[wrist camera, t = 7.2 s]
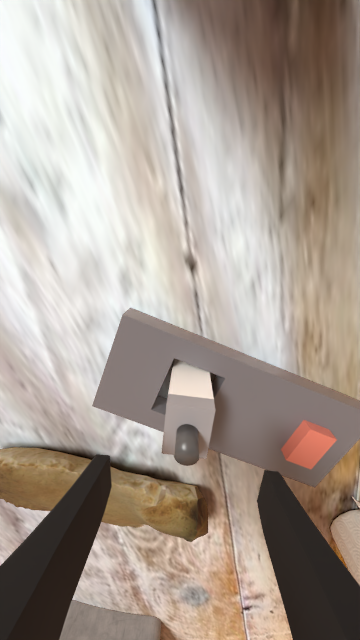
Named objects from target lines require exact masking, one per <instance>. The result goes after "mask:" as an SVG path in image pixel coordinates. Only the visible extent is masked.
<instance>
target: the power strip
mask: <svg viewBox="0 0 360 640" xmlns="http://www.w3.org/2000/svg"><path fill="white" fill-rule="evenodd" d="M174 358H175V359H178V360H180V361H183V362H185V363H188V364H190V365H193V366H195V367H198V368H200V369H203V370H205V371H208V372H211V373H213V374H216V377H215V379H214V381H213V383H212V391H213V397H214V404H215V416H214V421H213V426H212V432H211V437H210V442H209V449H211V450H214V451H217V452H219V453H222V454H225V455H228V456H230V457H233V458H236V459H239V460H241V461H244V462H247V463H250V464H252V465H255V466H258V467H260V468H263V469H266V470H269V471H278V472H279V473H280V474H281V475H282V476H285V477H288V478H290V479H293V480H296V481H299V482H301V483H304V484H307V485H310V486H312V487H316V486H317V485H318V484H319V482H320V481H321V480H322V479H323V478H324V477H325V476H326V475H327V474H328V473H329V472H330V470H331V469H332V468H333V467H334V466H335V465H336V464H337V463H338V462H339V461H340V460H341V459H342V457H343V456H344V455H345V454H346V453H347V452H348V451H349V450H350V449H351V448H352V447H353V445H354V444H355V443H356V442H357V441H358V440H359V439H360V401H359V400H357V399H354V398H352V397H350V396H347V395H345V394H342V393H340V392H337V391H335V390H332V389H330V388H327V387H325V386H322V385H320V384H317V383H315V382H313V381H310V380H308V379H305V378H303V377H300V376H298V375H295V374H293V373H290V372H288V371H285V370H283V369H280V368H278V367H276V366H273V365H271V364H268V363H266V362H263V361H261V360H258V359H256V358H253V357H251V356H248V355H246V354H243V353H241V352H239V351H236V350H234V349H231V348H229V347H226V346H224V345H221V344H219V343H216V342H214V341H211V340H209V339H206V338H204V337H202V336H199V335H197V334H194V333H192V332H189V331H187V330H184V329H182V328H179V327H177V326H174V325H172V324H170V323H167V322H165V321H162V320H160V319H157V318H155V317H152V316H150V315H147V314H145V313H142V312H140V311H137V310H135V309H133V308H130V309H129V310H127V311H126V312H125V313H124V314H123V315H122V318H121V321H120V324H119V327H118V330H117V333H116V336H115V339H114V342H113V345H112V348H111V351H110V354H109V357H108V360H107V363H106V366H105V369H104V372H103V375H102V378H101V381H100V384H99V387H98V390H97V393H96V396H95V399H94V402H93V405H92V406H94V407H97V408H99V409H102V410H105V411H107V412H110V413H113V414H116V415H118V416H121V417H124V418H127V419H129V420H132V421H135V422H138V423H140V424H143V425H146V426H148V427H151V428H154V429H157V430H159V431H162V432H164V425H165V414H166V404H167V399H165V398H163V397H160V396H157V395H158V393H159V391H160V388H161V386H162V384H163V382H164V379H165V377H166V375H167V373H168V371H169V368H170V366H171V364H172V362H173V360H174Z"/></svg>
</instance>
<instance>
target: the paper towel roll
mask: <svg viewBox="0 0 360 640" xmlns="http://www.w3.org/2000/svg"><path fill="white" fill-rule="evenodd" d="M352 498H353V497H352ZM353 499H354V498H353ZM354 501H355V502H356V504H357V505H358V507H359V508H360V502H358V501H356V500H355V499H354ZM330 528H331V533H332V537H333V539H334V541H335V543H336V545H337V547H338V549H339V551H340V553H341V555H342V557H343V559H344V561H345V563H346V565H347V567H348V569H349V571H350V573H351V575H352V576H353V577H354V579H355V580H356V581H357V582H358V584H359V585H360V510H353V511H349V512H346V513H344V514H341V515H340V516H338V517H337V518H336V519H335V520H334V521H333V523H332V525H331V527H330Z"/></svg>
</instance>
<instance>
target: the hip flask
mask: <svg viewBox="0 0 360 640" xmlns="http://www.w3.org/2000/svg"><path fill="white" fill-rule="evenodd" d="M160 633H161V620H160V619H159V618H157V617H154V616H145V615H137V614H130V613H124V612H119V611H114V610H109V609H104V608H100V607H96V606H92V605H88V604H85V603H81V602H78V601H75V600H72V601H71V604H70V607H69V610H68V613H67V616H66V620H65V623H64V626H63V629H62V632H61V636H60V639H59V640H160Z"/></svg>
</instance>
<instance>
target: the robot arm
mask: <svg viewBox="0 0 360 640" xmlns="http://www.w3.org/2000/svg"><path fill="white" fill-rule="evenodd" d="M111 487H112V483H111V469H110V456H107V455H96V456H94V458H93V459H92V460H91V462H90V463H89V464H88V466H87V467H86V468H85V470H84V471H83V472H82V474H81V475H80V476H79V477H78V479H77V480H76V481H75V483H74V484H73V485H72V486H71V488H70V489H69V490H68V491H67V492H66V494H65V495H64V496H63V497H62V498H61V500H60V501H59V502H58V503H57V504H56V506H55V507H54V508H53V509H52V510H51V511H50V513H49V514H48V515H47V516H46V517H45V518H44V519H43V521H42V522H41V523H40V524H39V525H38V526H37V527H36V528H35V530H34V531H33V532H32V533H31V534H30V535H29V536H28V537H27V538H26V539H25V541H24V542H23V543H22V544H21V545H20V546H19V547H18V548H17V549H16V550H15V551H14V552H13V553H12V554H11V555H10V556H9V557H8V559H7V560H6V561H5V562H4V563H3V564H2V565H1V566H0V640H59V639H60V636H61V632H62V629H63V626H64V623H65V620H66V616H67V613H68V610H69V607H70V604H71V601H72V598H73V596H74V593H75V590H76V587H77V585H78V582H79V579H80V577H81V574H82V571H83V569H84V566H85V563H86V561H87V558H88V555H89V553H90V550H91V548H92V545H93V542H94V540H95V537H96V534H97V532H98V529H99V526H100V524H101V521H102V518H103V515H104V512H105V509H106V505H107V502H108V498H109V495H110V491H111ZM257 503H258V508H259V514H260V519H261V524H262V529H263V533H264V537H265V540H266V544H267V548H268V551H269V555H270V558H271V562H272V565H273V569H274V572H275V576H276V579H277V583H278V586H279V590H280V593H281V597H282V600H283V604H284V607H285V611H286V614H287V618H288V622H289V626H290V630H291V634H292V638H293V640H360V585H359V584H358V582H357V581H356V580H355V579H354V577H353V576H352V575H351V573H350V572H349V571H348V570H347V568H346V567H345V566H344V564H343V563H342V562H341V560H340V559H339V558H338V556H337V555H336V554H335V552H334V551H333V550H332V548H331V547H330V546H329V544H328V543H327V541H326V540H325V539H324V537H323V536H322V534H321V533H320V532H319V530H318V529H317V527H316V526H315V525H314V523H313V522H312V520H311V519H310V517H309V516H308V515H307V513H306V512H305V510H304V509H303V507H302V506H301V504H300V503H299V501H298V500H297V498H296V497H295V495H294V494H293V492H292V491H291V489H290V488H289V486H288V485H287V483H286V482H285V480H284V479H283V477H282V476H281V474H280V473H279V472H278V471H268V470H265V471H264V475H263V479H262V483H261V487H260V491H259V495H258V499H257Z"/></svg>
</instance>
